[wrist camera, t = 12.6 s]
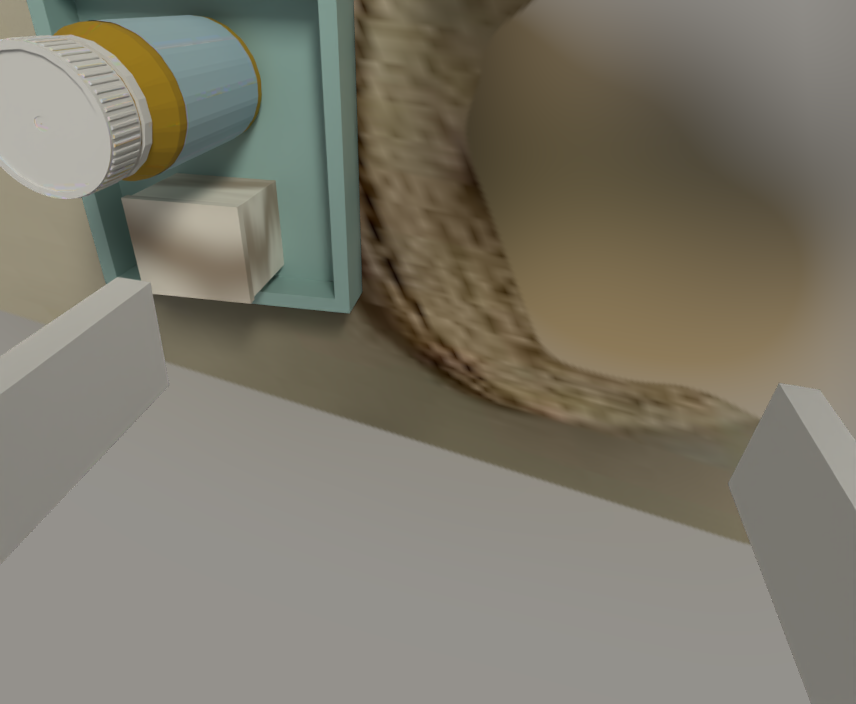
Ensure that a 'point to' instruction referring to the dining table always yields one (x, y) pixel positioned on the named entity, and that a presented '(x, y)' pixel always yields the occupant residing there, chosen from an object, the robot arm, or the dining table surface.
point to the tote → (265, 140)
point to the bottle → (121, 100)
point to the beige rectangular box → (206, 236)
